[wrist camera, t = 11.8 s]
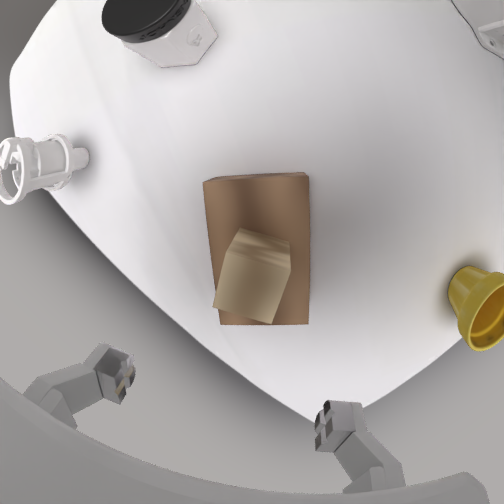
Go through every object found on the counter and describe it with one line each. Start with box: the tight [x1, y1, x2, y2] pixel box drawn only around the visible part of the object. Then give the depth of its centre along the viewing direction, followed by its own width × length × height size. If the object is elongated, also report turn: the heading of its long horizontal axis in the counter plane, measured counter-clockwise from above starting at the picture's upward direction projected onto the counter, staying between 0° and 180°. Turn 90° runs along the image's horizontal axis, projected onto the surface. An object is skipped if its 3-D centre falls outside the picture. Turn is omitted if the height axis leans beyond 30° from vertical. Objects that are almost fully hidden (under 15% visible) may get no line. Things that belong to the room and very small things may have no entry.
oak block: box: [213, 228, 291, 324], centre depth 25 cm, size 5×5×7 cm
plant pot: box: [448, 266, 504, 351], centre depth 28 cm, size 10×10×10 cm
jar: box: [102, 0, 218, 68], centre depth 20 cm, size 9×8×12 cm
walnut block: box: [203, 172, 310, 325], centre depth 31 cm, size 10×16×6 cm, turn 4°
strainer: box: [0, 134, 89, 205], centre depth 25 cm, size 7×7×15 cm
